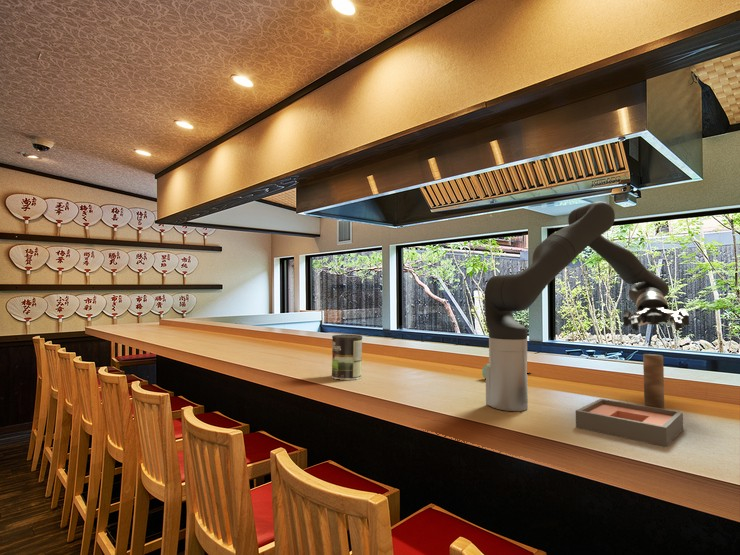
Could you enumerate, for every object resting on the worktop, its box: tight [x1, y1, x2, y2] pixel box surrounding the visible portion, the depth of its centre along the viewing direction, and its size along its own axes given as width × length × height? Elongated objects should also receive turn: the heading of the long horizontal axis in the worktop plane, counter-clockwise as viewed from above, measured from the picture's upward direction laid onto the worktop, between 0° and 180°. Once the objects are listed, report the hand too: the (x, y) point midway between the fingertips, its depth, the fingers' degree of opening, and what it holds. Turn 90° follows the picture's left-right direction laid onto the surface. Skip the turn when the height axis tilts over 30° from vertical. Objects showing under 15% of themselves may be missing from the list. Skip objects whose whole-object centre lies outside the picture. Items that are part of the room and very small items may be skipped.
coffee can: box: [331, 334, 363, 381], centre depth 142 cm, size 10×10×14 cm
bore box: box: [575, 398, 684, 448], centre depth 89 cm, size 16×16×4 cm
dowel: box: [642, 353, 665, 409], centre depth 100 cm, size 4×4×14 cm
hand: (656, 326), depth 105 cm, fingers open, 8 cm apart
